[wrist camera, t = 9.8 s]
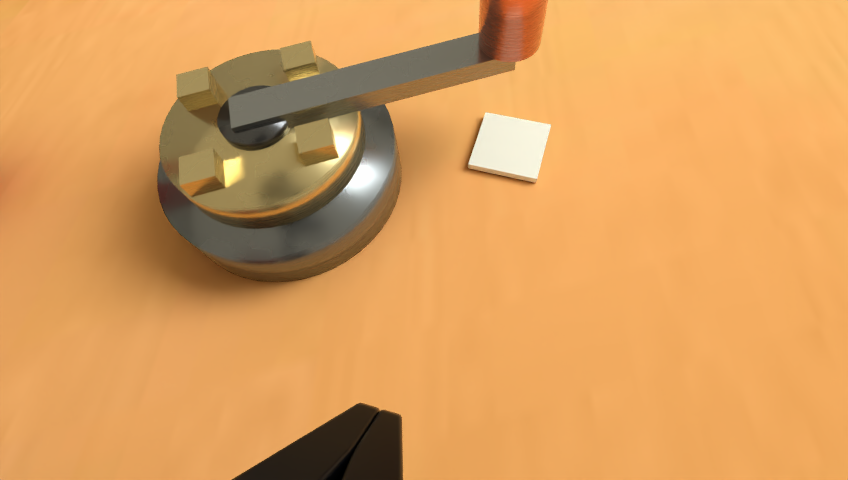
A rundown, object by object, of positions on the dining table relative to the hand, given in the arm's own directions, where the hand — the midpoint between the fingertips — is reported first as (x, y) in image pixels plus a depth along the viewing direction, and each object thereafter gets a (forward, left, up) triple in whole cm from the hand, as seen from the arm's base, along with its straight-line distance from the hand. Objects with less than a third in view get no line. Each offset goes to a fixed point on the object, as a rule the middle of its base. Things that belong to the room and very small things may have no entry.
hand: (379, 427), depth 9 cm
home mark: (+15, +9, -13) cm, 22 cm away
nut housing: (+4, +16, -13) cm, 21 cm away
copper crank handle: (+8, +14, -10) cm, 19 cm away
